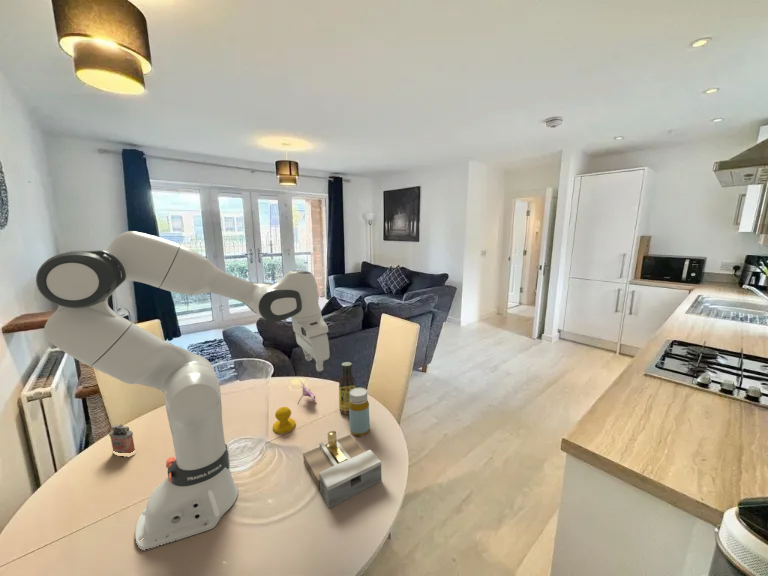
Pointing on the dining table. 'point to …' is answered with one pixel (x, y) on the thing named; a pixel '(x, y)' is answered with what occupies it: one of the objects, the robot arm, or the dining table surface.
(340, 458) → the bolt
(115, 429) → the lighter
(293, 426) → the doorknob
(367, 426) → the bottle
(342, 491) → the door latch block
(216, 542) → the dining table surface
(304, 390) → the lily
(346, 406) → the sauce bottle
